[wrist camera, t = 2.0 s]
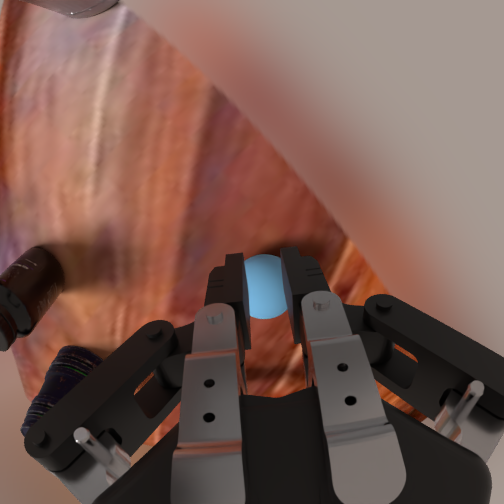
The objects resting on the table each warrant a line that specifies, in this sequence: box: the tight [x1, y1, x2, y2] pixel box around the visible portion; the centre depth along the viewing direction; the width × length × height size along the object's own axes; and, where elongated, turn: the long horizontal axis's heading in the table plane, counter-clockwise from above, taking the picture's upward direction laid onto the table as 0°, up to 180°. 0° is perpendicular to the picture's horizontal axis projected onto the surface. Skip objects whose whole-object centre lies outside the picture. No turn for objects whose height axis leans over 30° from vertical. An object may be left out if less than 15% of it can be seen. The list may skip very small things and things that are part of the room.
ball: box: [244, 254, 287, 319], centre depth 28 cm, size 6×6×6 cm
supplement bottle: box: [0, 248, 65, 351], centre depth 25 cm, size 7×7×12 cm
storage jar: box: [21, 346, 103, 437], centre depth 31 cm, size 10×10×15 cm
